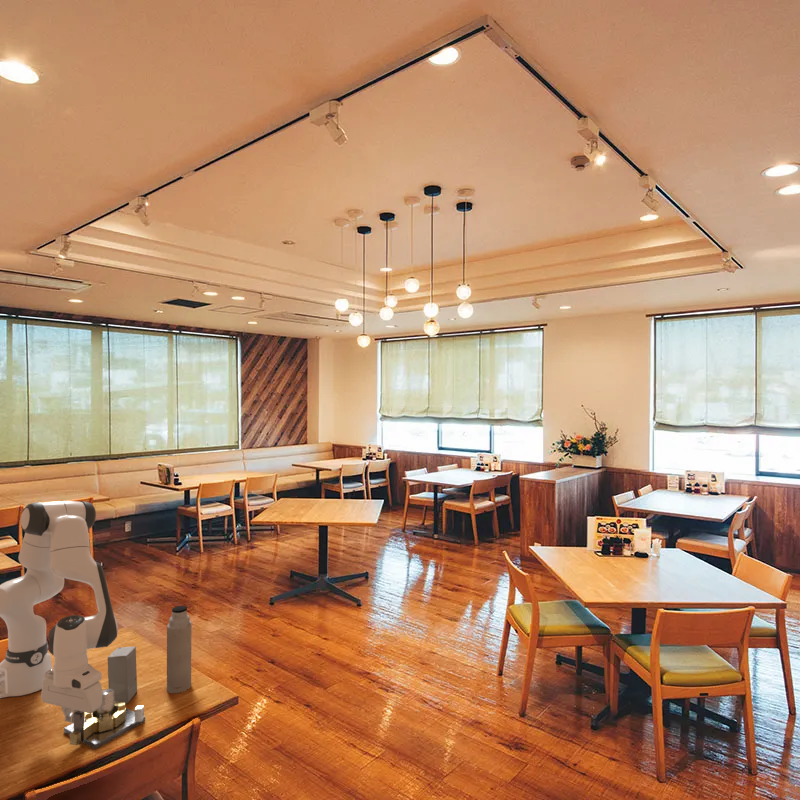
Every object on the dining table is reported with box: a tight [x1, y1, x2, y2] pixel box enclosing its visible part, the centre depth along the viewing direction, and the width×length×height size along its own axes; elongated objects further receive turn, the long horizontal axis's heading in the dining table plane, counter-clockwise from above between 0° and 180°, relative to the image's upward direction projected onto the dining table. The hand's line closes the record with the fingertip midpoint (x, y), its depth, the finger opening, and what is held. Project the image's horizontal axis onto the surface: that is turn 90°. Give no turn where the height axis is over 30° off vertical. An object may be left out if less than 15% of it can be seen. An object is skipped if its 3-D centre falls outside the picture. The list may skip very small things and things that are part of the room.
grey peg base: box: [63, 688, 146, 750], centre depth 169 cm, size 18×16×10 cm
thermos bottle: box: [166, 605, 192, 694], centre depth 193 cm, size 8×8×28 cm
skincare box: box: [107, 646, 138, 704], centre depth 186 cm, size 8×7×16 cm
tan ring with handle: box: [69, 701, 127, 746], centre depth 167 cm, size 18×11×8 cm, turn 165°
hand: (71, 721), depth 162 cm, fingers closed
